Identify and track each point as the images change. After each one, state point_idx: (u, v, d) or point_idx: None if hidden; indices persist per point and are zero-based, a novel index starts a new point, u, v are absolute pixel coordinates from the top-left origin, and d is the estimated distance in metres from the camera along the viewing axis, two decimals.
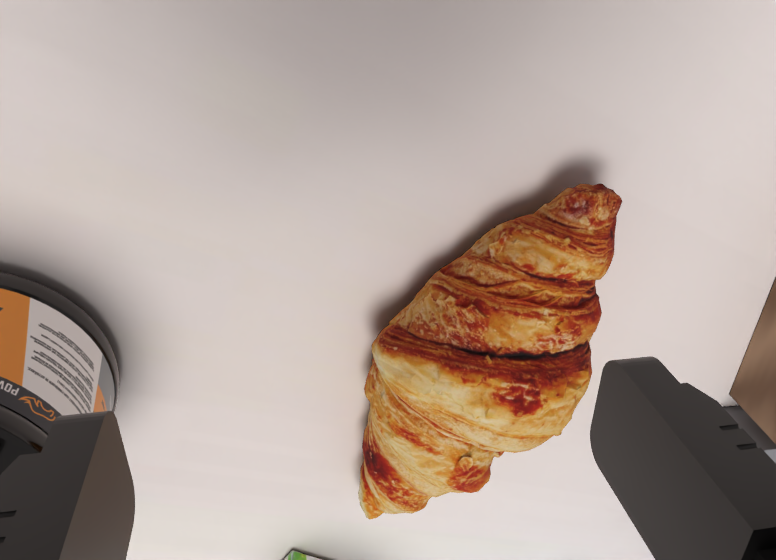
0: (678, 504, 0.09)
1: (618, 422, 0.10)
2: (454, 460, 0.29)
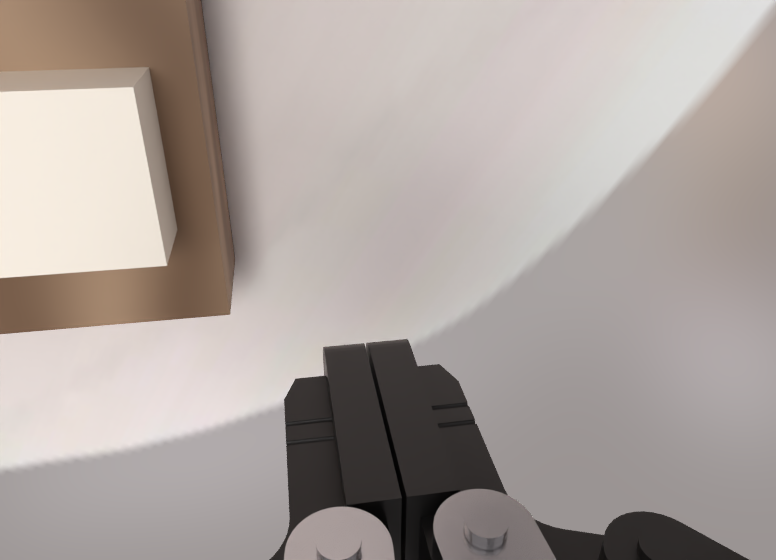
0: None
1: None
2: None
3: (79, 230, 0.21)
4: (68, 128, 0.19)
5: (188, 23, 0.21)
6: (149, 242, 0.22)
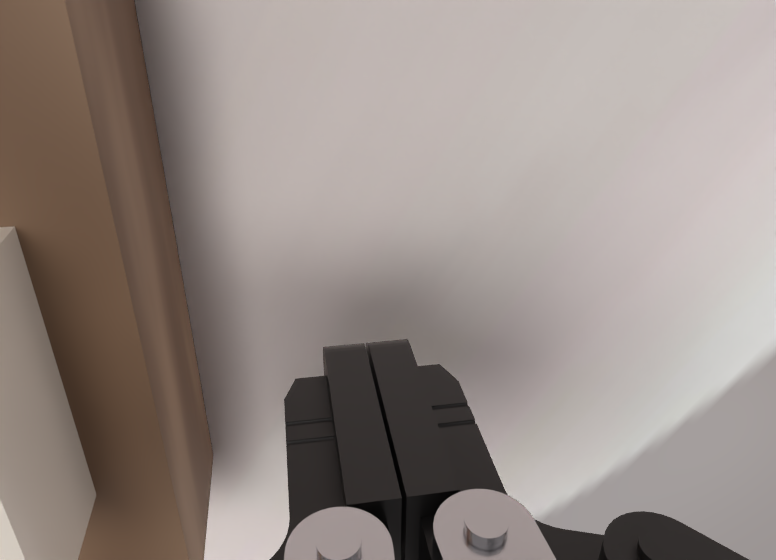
0: None
1: None
2: None
3: None
4: None
5: (95, 138, 0.10)
6: None
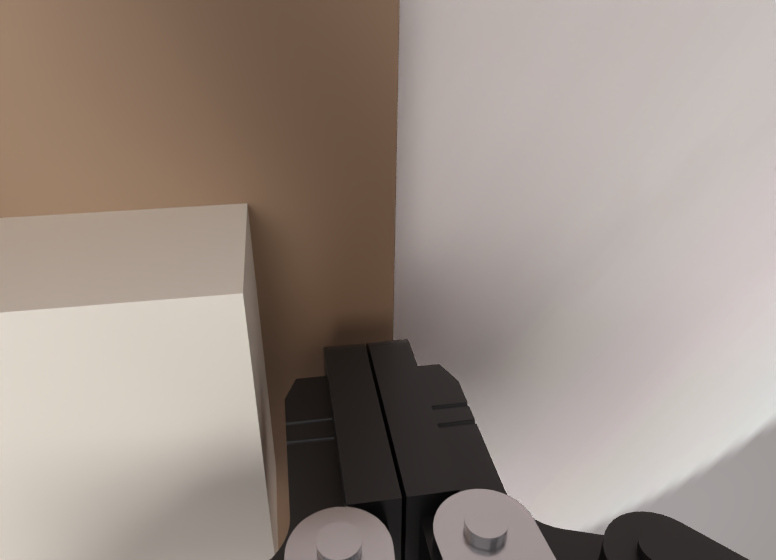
0: None
1: None
2: None
3: (107, 556, 0.10)
4: (89, 381, 0.08)
5: (395, 116, 0.11)
6: None
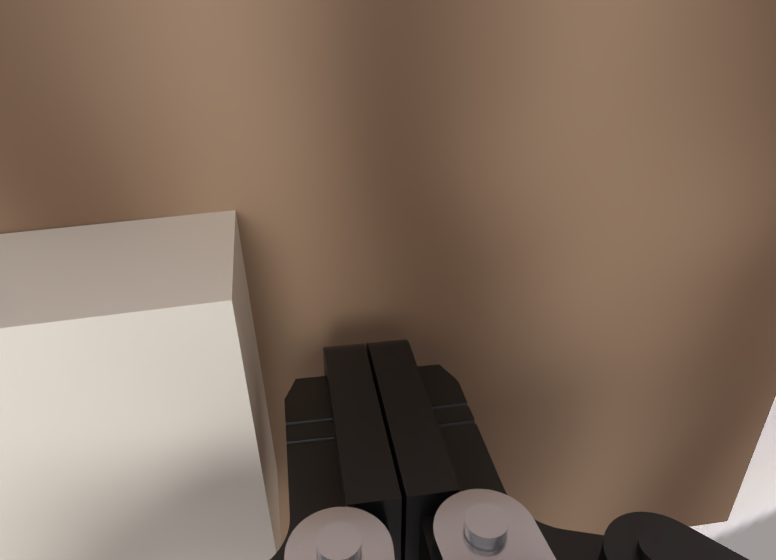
0: None
1: None
2: None
3: None
4: (84, 392, 0.09)
5: None
6: None
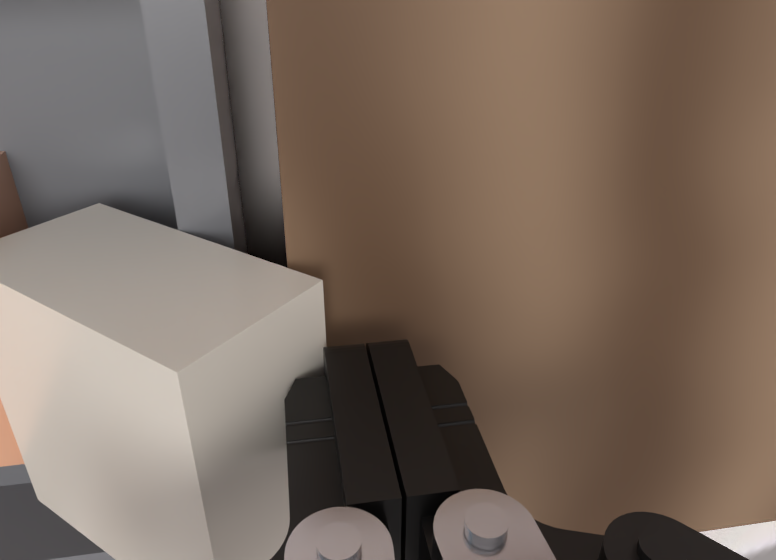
0: None
1: None
2: None
3: (123, 523, 0.12)
4: (98, 386, 0.10)
5: None
6: None
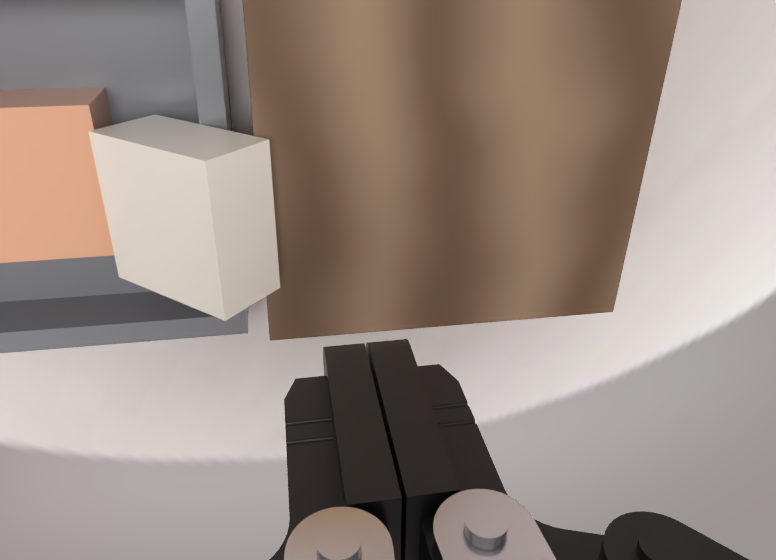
0: None
1: None
2: None
3: (171, 265, 0.24)
4: (166, 182, 0.22)
5: (666, 62, 0.25)
6: (214, 295, 0.23)
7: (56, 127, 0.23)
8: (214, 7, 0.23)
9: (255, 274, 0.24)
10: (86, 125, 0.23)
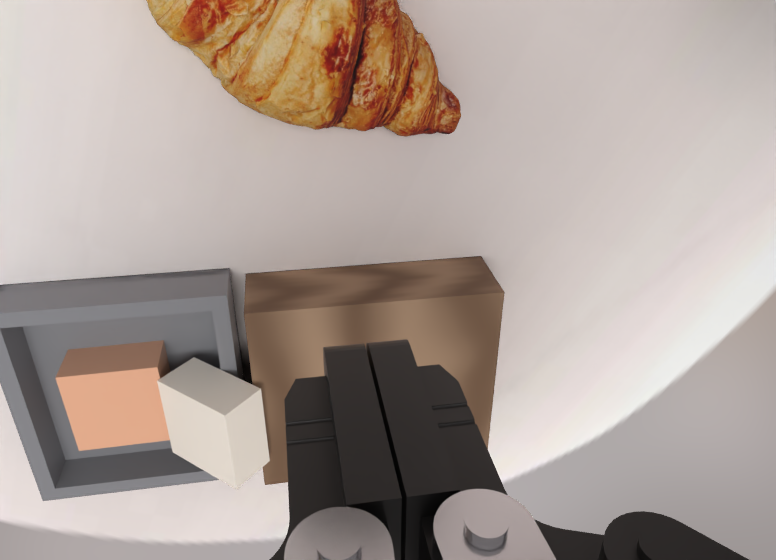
0: None
1: None
2: None
3: (205, 455, 0.41)
4: (202, 417, 0.39)
5: (499, 327, 0.42)
6: (230, 476, 0.40)
7: (139, 379, 0.40)
8: (229, 314, 0.40)
9: (254, 459, 0.41)
10: (155, 377, 0.40)
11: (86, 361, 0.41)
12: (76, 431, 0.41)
